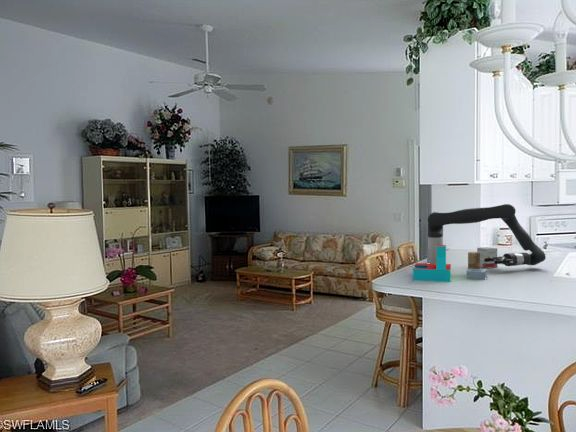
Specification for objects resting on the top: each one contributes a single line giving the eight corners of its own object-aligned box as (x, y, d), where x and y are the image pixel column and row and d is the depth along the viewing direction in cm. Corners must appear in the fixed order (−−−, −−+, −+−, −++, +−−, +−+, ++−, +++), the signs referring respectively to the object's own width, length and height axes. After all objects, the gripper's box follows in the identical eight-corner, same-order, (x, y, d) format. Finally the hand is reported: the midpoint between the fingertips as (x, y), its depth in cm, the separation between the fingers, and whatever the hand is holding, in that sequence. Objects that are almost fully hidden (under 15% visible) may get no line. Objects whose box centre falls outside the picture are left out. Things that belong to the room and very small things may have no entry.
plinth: (466, 278, 255) (466, 271, 255) (469, 275, 263) (469, 268, 262) (484, 279, 251) (484, 272, 250) (486, 276, 258) (486, 269, 258)
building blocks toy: (450, 274, 271) (450, 242, 270) (450, 282, 247) (450, 247, 246) (416, 272, 277) (416, 241, 276) (413, 280, 253) (412, 246, 252)
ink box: (497, 267, 289) (498, 247, 288) (487, 268, 286) (487, 248, 285) (487, 265, 297) (487, 246, 296) (476, 266, 294) (476, 247, 293)
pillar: (473, 274, 266) (473, 253, 265) (468, 273, 270) (468, 252, 269) (479, 274, 267) (480, 252, 266) (474, 272, 271) (474, 251, 271)
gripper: (504, 251, 282) (481, 253, 278) (522, 254, 269) (498, 256, 264) (504, 263, 283) (481, 265, 278) (522, 267, 269) (498, 269, 265)
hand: (489, 261), depth 271 cm, fingers open, 8 cm apart
